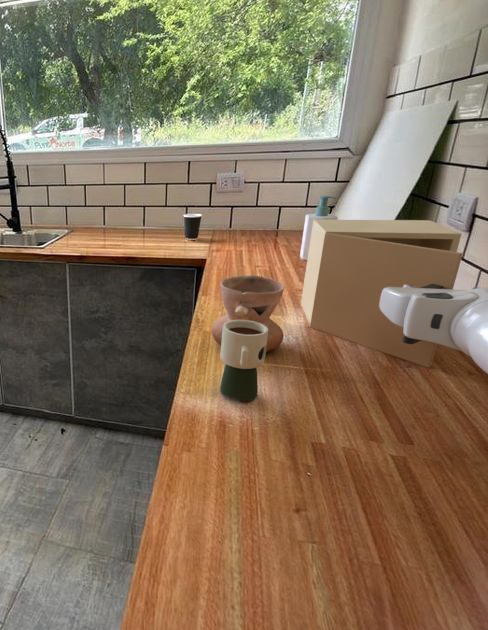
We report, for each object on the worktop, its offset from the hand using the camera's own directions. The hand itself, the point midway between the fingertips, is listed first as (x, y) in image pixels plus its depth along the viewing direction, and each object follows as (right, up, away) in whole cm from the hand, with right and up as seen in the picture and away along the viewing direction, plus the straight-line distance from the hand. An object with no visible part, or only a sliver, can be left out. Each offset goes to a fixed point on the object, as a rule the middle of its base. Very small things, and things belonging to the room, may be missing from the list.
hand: (441, 290), depth 73 cm
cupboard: (+10, -5, +36) cm, 38 cm away
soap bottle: (+28, +16, +88) cm, 94 cm away
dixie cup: (-6, +29, +127) cm, 130 cm away
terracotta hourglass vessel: (-22, -11, +25) cm, 35 cm away
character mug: (-31, -18, +6) cm, 37 cm away
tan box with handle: (-1, -11, +20) cm, 23 cm away
